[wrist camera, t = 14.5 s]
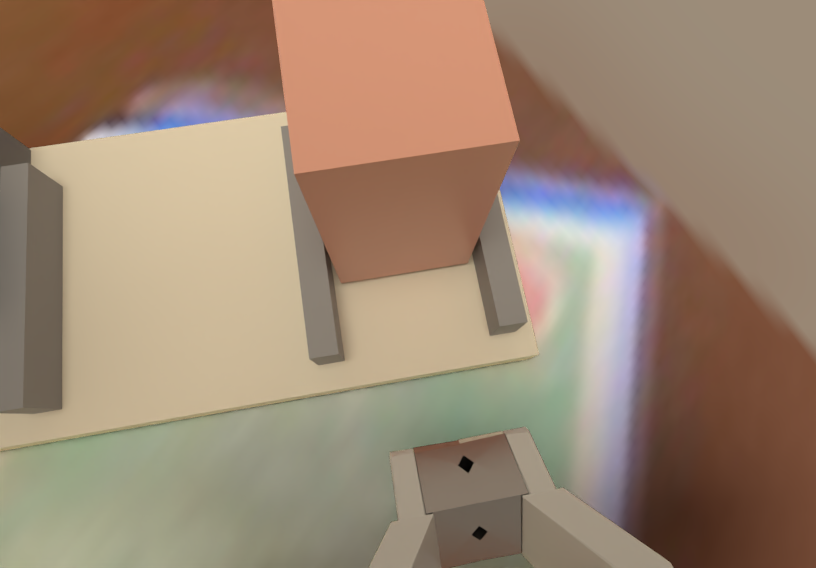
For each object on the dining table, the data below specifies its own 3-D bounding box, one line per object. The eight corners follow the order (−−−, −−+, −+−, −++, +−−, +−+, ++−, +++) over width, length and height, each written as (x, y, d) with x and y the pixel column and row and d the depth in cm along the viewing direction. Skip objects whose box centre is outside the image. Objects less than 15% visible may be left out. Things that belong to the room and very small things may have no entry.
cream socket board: (529, 359, 21) (563, 342, 16) (-137, 475, 19) (-293, 490, 15) (470, 105, 24) (485, 35, 20) (-109, 189, 22) (-232, 133, 18)
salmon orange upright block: (467, 262, 20) (519, 140, 11) (341, 283, 20) (294, 173, 11) (443, 150, 21) (473, -39, 13) (324, 167, 21) (270, -13, 12)
